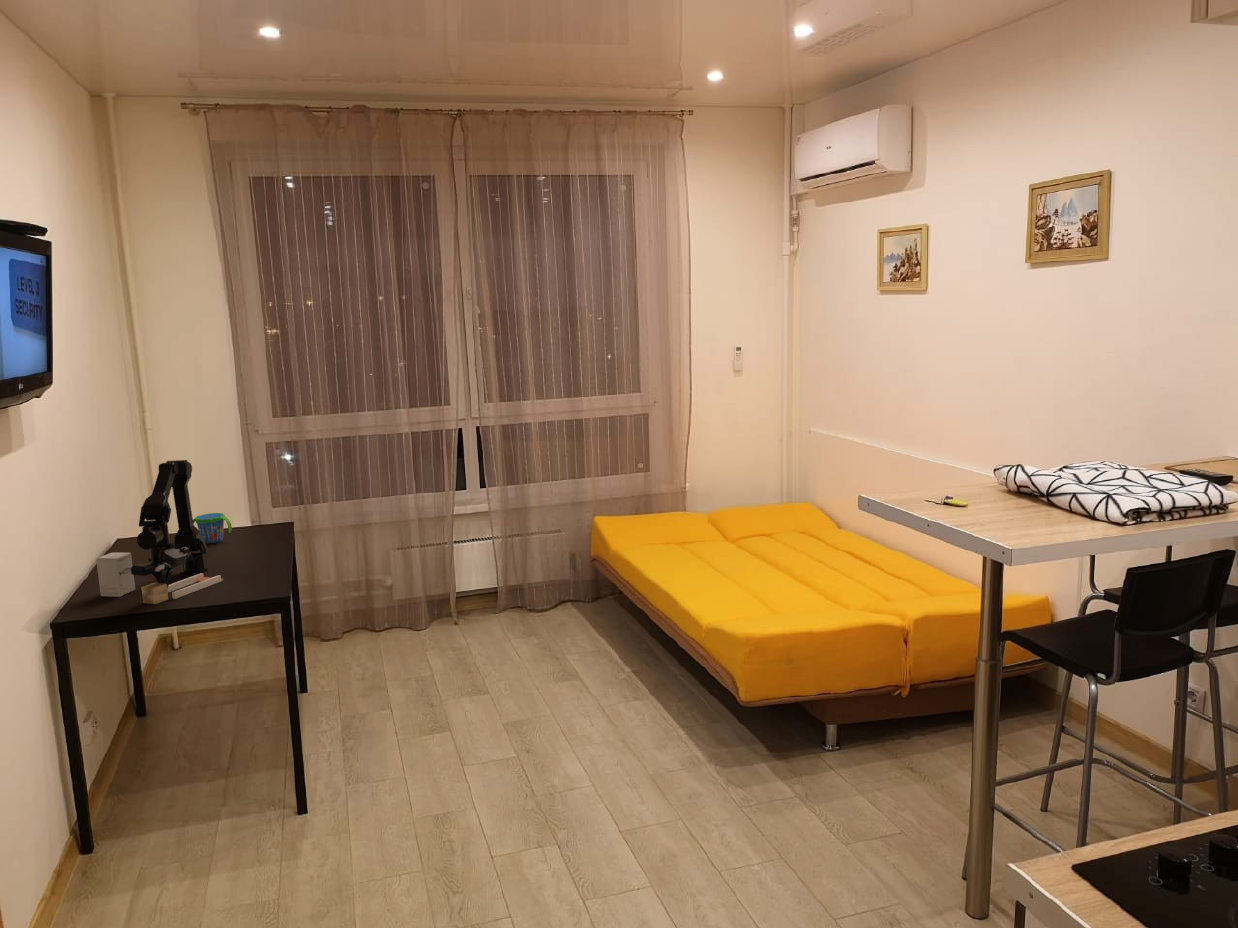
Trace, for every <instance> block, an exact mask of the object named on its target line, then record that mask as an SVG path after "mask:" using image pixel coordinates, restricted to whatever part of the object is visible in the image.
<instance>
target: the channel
mask: <svg viewBox="0 0 1238 928" xmlns="http://www.w3.org/2000/svg"><path fill="white" fill-rule="evenodd" d="M223 581H225V580H224V578H222V576H221V575H220V574H219V575H215V576H213V577H212V576H211V577H210V576H209V577H208V576H205V575H204V573H202V572H199V573H197V574H194V575H193V576H190V577H187V578H185V579H181V580H179V581H175V582H173V583H171V584H170V583H169V585H168V589H167V592H168V593H171V596H172V597H171V598H172V599H173V600H176V599H179V598H181V597H184V596H186V595H189V594H193V592H197V591H200V590H202V589H205V588H208V587H210V586H213V585H215V584H218V583H221V582H223Z"/></svg>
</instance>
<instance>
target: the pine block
mask: <svg viewBox="0 0 1238 928" xmlns="http://www.w3.org/2000/svg"><path fill="white" fill-rule="evenodd" d="M140 588H141V596H142V602H143V604H150V605H157V604H159V603H163V602H165V601H168V600H169V594H168V593H169V592H167V584H162V583H159V582H152V583H149V584H146V585H145V586H144V585H143V586H141V587H140Z"/></svg>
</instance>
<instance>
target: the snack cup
mask: <svg viewBox="0 0 1238 928" xmlns="http://www.w3.org/2000/svg"><path fill="white" fill-rule="evenodd" d="M224 522H226V525H227V526H228V527H227V533H229V534H230V533H231V532H232V530H233V528H232V523H231V521H230V519H229V518H228V517H227V516H225V514H224V513H222V512H213V513H212V512H211V513H204V514H201V515H200V514H199V515H197V516H195V517H194V518H193V524H194V525H195V523H196V524H197V529H198V530H199V531H200V535H201V538H202V539H203V541H204V542H205V544H214V543H215V544H216V543H219V542H222V541H223V538H224V525H225V523H224Z"/></svg>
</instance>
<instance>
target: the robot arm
mask: <svg viewBox="0 0 1238 928" xmlns="http://www.w3.org/2000/svg"><path fill="white" fill-rule="evenodd" d="M192 472H193V466H192V463H191V462H189V460H187V459H180V460H179V459H176V460H167V461H165V462H162V463H159V464H158V474H157V476H156V480H155V482H154V486H153V489H152V493H151V494H150V495H149V496H148V497H146V498H145V500H144V502H143V504H142V505H141V507H140V514H139V520H138V521H139V522H138V527H139V528H141V530H142V531H141V532H140V533H139V534H138V535H137V537H136V544H137V546H139V548H141V549H143V550H148V551H150V557H148V562H139V563H137V564H132V567H131V574H132V575H134V576H142V577H145V576H148V575H152V576H153V577H154V578H155V580H156V581H157V583H162V584H167V589H168V585H170V580H171V577H172V574H173V571H175V570H176V568H178V567H179V566H181V565H182V569H183V570H181V571H179V574H186V575H197V574H200V573H202V572H204V571H207V570H208V569H209V568H208V567H205V559H204V555H205V554H207V553H208V548H207V543H205V542H204V541H203V539H202V538H201V535H200V531H199V530H198V527H196V526H195V523H194V524H193V519H194V518H193V513H192V507H191V499H190V493H189V486H188V484H189V481H190V480H191V478H192ZM171 491H172V493H173V500H174V507H175V514H176V520H177V525H178V526H177V527H178V528H177V529H178V530H177V531H176V533H175V535H174V537H173V538H174V542H170V541H171V540H170V533H169V525H168V524H169V522H170V517H171V514H172V508H171V506H170V503H169V497H170V493H171ZM149 562H151V563H149Z"/></svg>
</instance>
